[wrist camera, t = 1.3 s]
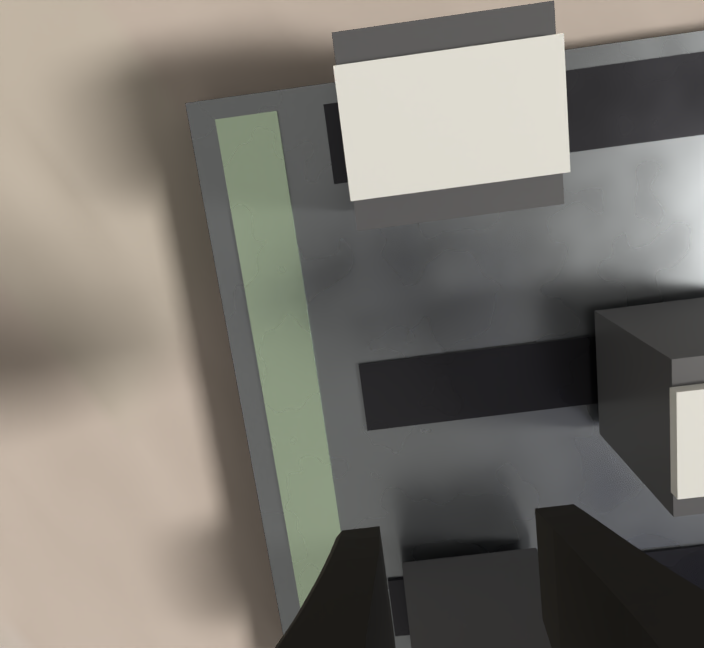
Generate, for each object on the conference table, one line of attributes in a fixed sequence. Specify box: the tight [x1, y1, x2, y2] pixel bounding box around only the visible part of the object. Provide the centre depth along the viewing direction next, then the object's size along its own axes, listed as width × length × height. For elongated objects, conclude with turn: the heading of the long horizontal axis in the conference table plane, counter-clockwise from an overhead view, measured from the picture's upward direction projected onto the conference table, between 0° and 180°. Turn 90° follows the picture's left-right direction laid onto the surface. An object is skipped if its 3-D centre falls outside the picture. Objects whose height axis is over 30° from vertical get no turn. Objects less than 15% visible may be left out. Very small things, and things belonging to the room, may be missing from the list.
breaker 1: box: [332, 1, 570, 231], centre depth 14 cm, size 4×4×5 cm
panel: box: [185, 31, 704, 648], centre depth 19 cm, size 18×24×2 cm
